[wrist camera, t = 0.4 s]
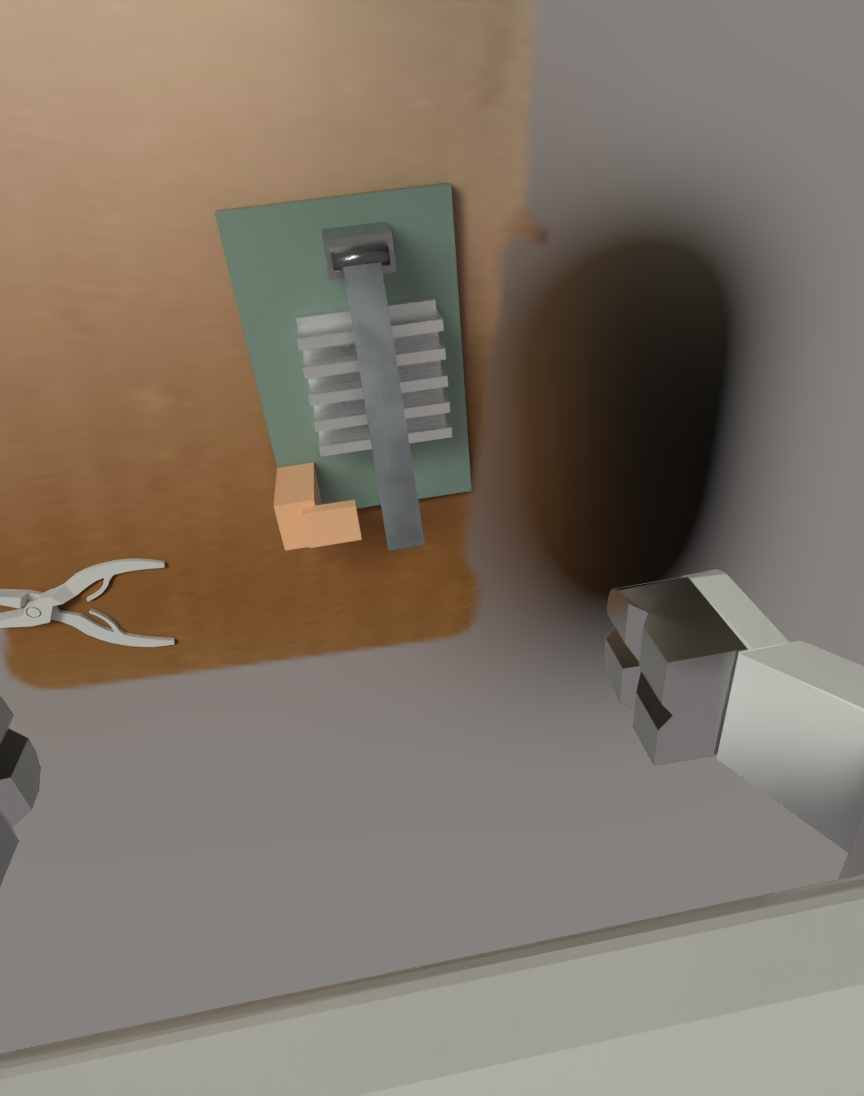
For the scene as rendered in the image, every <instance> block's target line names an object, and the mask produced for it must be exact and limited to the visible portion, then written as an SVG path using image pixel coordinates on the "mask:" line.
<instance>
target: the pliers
mask: <svg viewBox="0 0 864 1096" xmlns="http://www.w3.org/2000/svg"><path fill="white" fill-rule="evenodd" d="M152 568H165V561H161V560H153V559H121V560H114V561H109V562H105V563H101V564H97V565H94V566H91V567H88V568H86V569H84V570H82V571H80V572H78V573H76V574H75V575H74V576H73V577H72V578H70V579H69V580H68V581H67V582H66V583H64V584H62V585H60V586H58V587H56V588H54V589H50V590H48V591H46V592H44V593H43V592H38V591H32V590H16V589H0V605H4V606H9V607H15V608H22V607H24V606H25V605H26V607H25V608H22V609H17V610H12V611H8V612H3V613H0V628H7V627H26V626H35V625H40V624H45V623H49V622H50V621H51V620H56V621H61V622H64V623H66V624H69V625H71V626H74V627H76V628H77V629H79V630H81V631H82V632H84V633H86V634H87V635H90V636H92V637H95V638H97V639H100V640H104V641H107V642H111V643H116V644H121V645H128V646H138V647H157V646H167V645H174V644H175V639H174V638H163V637H151V636H142V635H136V634H131V633H126V632H124V631H123V630H122V629H120V627H119V626H118V625H117V624H116V622H115V621H114V620H112V619H111V618H110V617H109V616H107V615H105V614H103V613H101V612H99V611H97V610H95V609H92V608H91V609H90V612H89V613H91V614H94V615H96V616H98V617H100V618H102V619H104V620H105V621H106V622H107V623H108V624H109V625H111V627H112V629H111V628H108V627H105V626H103V625H101V624H99V623H97V622H95V621H94V620H92V619H90V618H88V617H87V616H85V615H83V614H81V613H76V612H70V611H65V610H60V609H59V608H58V606H57V605H61V604H64V603H65V602H67V601H68V600H70V599H72V598H73V597H75V596H76V595H78V594H79V593H80V592H81V591H83V590H84V589H85V588H87V587H88V586H89V585H91V584H92V583H94V582H95V581H97V580H100V579H102V578H104V583H103V585H102V587H101V588H100V589H99V590H98V591H97V592H95V593H94V594H92V595H90V596H88V597H87V599H86V600H87V601H90V600H92V599H94V598H96V597H97V596H99V595H100V594H102V593H103V591H104V590H105V589H106V588H107V586H108V584H109V581H110V579H111V578H112V576H113V575H115V574H120V573H124V572H129V571H135V570H143V569H152Z"/></svg>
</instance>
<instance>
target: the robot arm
mask: <svg viewBox="0 0 864 1096" xmlns="http://www.w3.org/2000/svg"><path fill="white" fill-rule="evenodd" d="M607 614H608V615H609V617H610V619H611V620H612V622H613V624H614V626H615V627H614V628H613V629H612V630H611V632H610V633H609V634H608V635H607V637H606V638H605V659H606V664H607V671H608V676H609V678H610V682H611V684H612V687H613V690H614V692H615V694H616V695H617V698H618V699H619V701H620V703H621V704H623V705H625V706H627V707H628V708H630V709H632V710H634V711H635V712H634V724H633V728H634V730H635V732H636V734H637V735H638V737H639V739H640V741H641V743H642V745H643V746H644V748H645V750H646V752H647V754H648V756H649V757H650V759H651V761H652V763H653V765H654V766H656V765H662V764H668V763H674V762H680V761H686V760H692V759H699V758H705V757H711V756H717V760H719V761H720V762H722V763H723V764H724V765H726V766H727V767H729V768H730V769H731V770H733V771H734V772H736V773H737V774H739V775H740V776H741V777H743V778H744V779H745V780H747V781H748V782H750V783H751V784H753V785H754V786H755V787H757V788H758V789H759V790H761V791H762V792H764V793H765V794H767V795H768V796H769V797H771V798H772V799H774V800H775V801H776V802H778V803H779V804H781V805H782V806H783V807H785V808H786V809H788V810H789V811H790V812H792V813H793V814H795V815H796V816H797V817H799V818H800V819H802V820H803V821H804V822H806V823H807V824H809V825H810V826H811V827H813V828H814V829H816V830H817V831H819V832H820V833H821V834H823V835H824V836H825V837H827V838H828V839H830V840H831V841H832V842H834V843H835V844H837V845H838V846H840V847H841V848H842V849H844V850H845V851H846V852H848V855H847V858H846V860H845V862H844V865H843V867H842V870H841V872H840V875H839V877H838V879H837V880H833V881H828V882H823V883H818V884H813V885H808V886H804V887H799V888H794V889H789V890H785V891H780V892H775V893H770V894H765V895H760V896H756V897H751V898H746V899H741V900H736V901H731V902H727V903H722V904H717V905H712V906H707V907H703V908H698V909H693V910H688V911H683V912H678V913H674V914H669V915H664V916H659V917H654V918H649V919H645V920H640V921H635V922H630V923H626V924H621V925H616V926H611V927H606V928H602V929H597V930H592V931H587V932H582V933H577V934H573V935H568V936H563V937H558V938H553V939H548V940H544V941H539V942H534V943H529V944H524V945H520V946H515V947H510V948H505V949H501V950H496V951H491V952H486V953H481V954H476V955H471V956H467V957H462V958H457V959H452V960H447V961H443V962H438V963H434V964H428V965H423V966H419V967H414V968H410V969H404V970H399V971H394V972H390V973H385V974H380V975H375V976H370V977H366V978H361V979H356V980H351V981H346V982H342V983H337V984H332V985H327V986H322V987H318V988H313V989H308V990H303V991H299V992H294V993H289V994H284V995H279V996H274V997H269V998H265V999H260V1000H255V1001H250V1002H245V1003H241V1004H236V1005H231V1006H227V1007H222V1008H217V1009H212V1010H207V1011H202V1012H197V1013H193V1014H188V1015H184V1016H179V1017H173V1018H169V1019H164V1020H159V1021H155V1022H150V1023H145V1024H140V1025H135V1026H130V1027H125V1028H121V1029H116V1030H111V1031H106V1032H101V1033H97V1034H92V1035H87V1036H82V1037H78V1038H72V1039H68V1040H63V1041H58V1042H54V1043H49V1044H44V1045H39V1046H34V1047H29V1048H24V1049H19V1050H15V1051H10V1052H5V1053H0V1096H864V666H861V665H859V664H856V663H854V662H851V661H849V660H847V659H844V658H842V657H839V656H837V655H835V654H832V653H830V652H827V651H825V650H822V649H820V648H818V647H815V646H813V645H810V644H808V643H805V642H803V641H797V642H791V643H790V642H789V641H788V640H787V639H786V638H785V636H784V635H783V634H782V633H781V632H780V631H779V630H778V629H777V628H776V627H775V626H774V625H773V624H772V623H771V621H770V620H769V619H768V618H767V617H766V616H765V615H764V614H763V613H762V612H761V611H760V610H759V609H758V608H757V606H756V605H755V604H754V603H753V602H752V601H751V600H750V599H749V598H748V597H747V596H746V595H745V594H744V592H743V591H742V590H741V589H740V588H739V587H738V586H737V585H736V584H735V583H734V582H733V581H732V580H731V578H730V577H729V576H728V575H727V574H726V573H724V572H722V571H720V570H717V569H716V570H711V571H706V572H701V573H695V574H690V575H685V576H682V577H681V578H674V579H668V580H662V581H657V582H651V583H645V584H640V585H634V586H628V587H622V588H616V589H612V590H611V592H610V595H609V597H608V607H607ZM13 715H14V714H13V713H12V711H11V710H10V708H9V707H8V706H7V704H6V703H5V701H4V700H3V698H2V697H0V886H1V883H2V881H3V878H4V876H5V873H6V871H7V869H8V866H9V864H10V861H11V859H12V857H13V854H14V852H15V849H16V847H17V844H18V842H19V840H18V837H17V835H16V833H15V831H14V829H13V827H14V826H15V825H16V824H17V823H18V822H19V821H20V820H21V819H23V818H24V817H25V816H26V815H27V814H28V813H29V812H30V811H31V810H32V808H33V805H34V803H35V800H36V797H37V795H38V792H39V785H40V769H41V767H40V764H39V760H38V756H37V753H36V750H35V749H34V747H33V745H32V744H31V742H30V740H29V739H28V738H27V737H25V736H23V735H21V734H19V733H17V732H15V731H13V730H11V729H9V727H10V724H11V721H12V718H13Z"/></svg>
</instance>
